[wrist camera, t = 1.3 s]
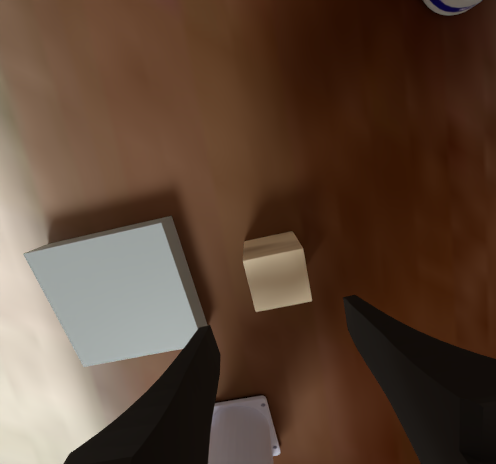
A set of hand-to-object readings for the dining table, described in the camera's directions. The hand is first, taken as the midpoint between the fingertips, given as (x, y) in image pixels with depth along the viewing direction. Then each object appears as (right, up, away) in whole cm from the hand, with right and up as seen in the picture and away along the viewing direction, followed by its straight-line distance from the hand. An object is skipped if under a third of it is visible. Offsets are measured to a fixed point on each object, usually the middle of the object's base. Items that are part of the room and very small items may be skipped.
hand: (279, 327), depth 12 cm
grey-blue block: (-13, 0, +11) cm, 17 cm away
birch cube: (+1, +3, +10) cm, 10 cm away
